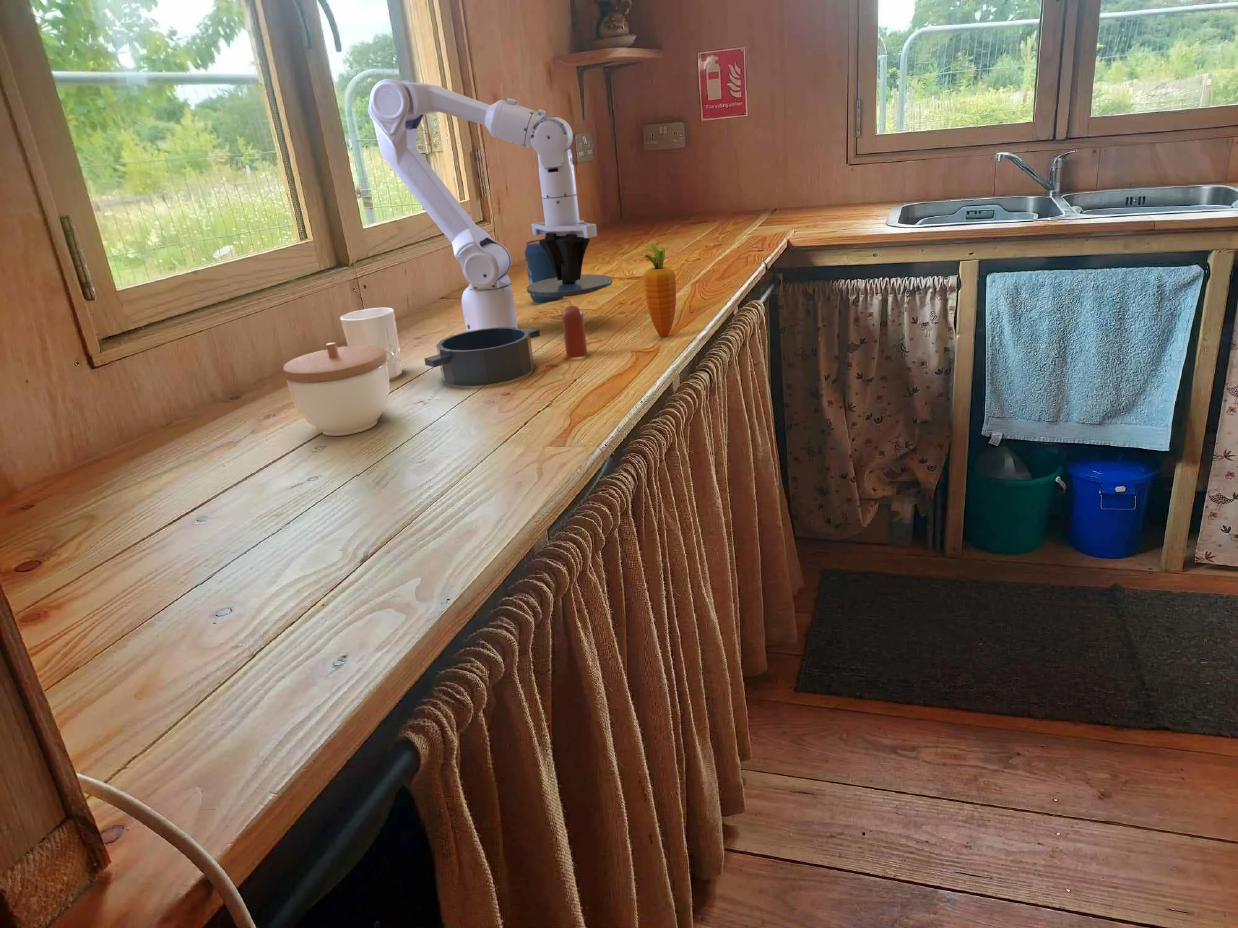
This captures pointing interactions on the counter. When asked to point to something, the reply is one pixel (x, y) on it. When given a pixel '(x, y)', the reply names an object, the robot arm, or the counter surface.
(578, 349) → the sausage
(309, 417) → the lidded bowl
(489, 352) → the pot
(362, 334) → the white cup
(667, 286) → the carrot
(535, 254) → the soda can
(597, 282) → the lid
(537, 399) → the counter surface
